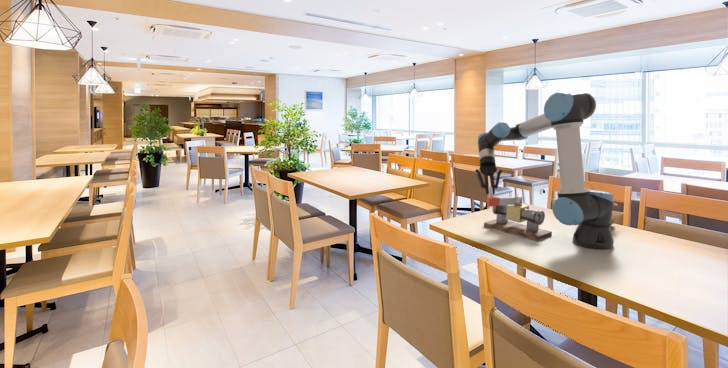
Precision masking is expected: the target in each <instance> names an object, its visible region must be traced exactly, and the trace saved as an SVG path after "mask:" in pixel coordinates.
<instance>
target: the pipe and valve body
mask: <svg viewBox="0 0 728 368" xmlns="http://www.w3.org/2000/svg"><path fill="white" fill-rule="evenodd" d="M492 213H493V214H494V215H495V216H496V223H497V224H501V225H502V224H506V223H508V221H511V222H515V223H519V224H521V223H523V222H526V225H527V228H526V231H528V232H531V233H533V232H536V231H538V229H540V228H539V227H540V226H541V225H542V224H543V223H544V221H545V217H546V214H545V212H544V211H543V210H537V211H536V210H531V209H530V205H527V204H523V203H522V206H516V205H499V206H492Z"/></svg>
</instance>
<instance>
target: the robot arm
mask: <svg viewBox="0 0 728 368" xmlns="http://www.w3.org/2000/svg"><path fill="white" fill-rule="evenodd" d="M596 109H597V102H596V99H595V98H594V96H592V95H591V94H590V93H588V92H585V91H568V90H567V91H566V90H565V91H559V92H555V93H552V94H551V95H550V96H548V98H547V99H546V101H545V103H544V105H543V113H542V114H540V115H537V116H535V117H533V118H530V119H528V120H525V121H523V122H520V123H518V124H514V125H509V124H508V123H507V122H504V121H499V122H497V123H496V124H495V125H493V127H492V128H491V129H490V130H489V131H488V132H483V133H480V134H479V135H478V137H477V146H478V147H477V148H478V157H479V168H477V169H475V171H474V174H475V176H477V180H478V182H479V184H480V187H481V189H484V191H485V194H486V195H487V197H494V196H495V194H496V191H495V189H498V188H499V183H500V177H501V175H502V173H503V170H502V169H498V167H497V165H496V158H495V156H496V155H495V146H497V145H498V144H499V143H500V142H504V141H507V142H508V141H524V140H527V139H528V137H530V136H533V135H536V134H539V133H541V132H545V131H546V130H550V129H554V130H555V134H556V135H555V136H556V147H557V157H558V168H559V178H560V179H559V180H560V189H559V190H558V191H557V192H556V193H557V199H556V200H554V202H553V204H552V208H551V209H552V213H553V217H555V219H556V220H557V221H559V223H561V224H562V225H565V226H577V227H576V230H575V232H574V234H573V236H572V242H573V243H574V244H576V245H578V246H582V247H585V248H587V249H588V248H589V249H596V250H608V249H612V248H613V247H614V244H615V243H614V236H613V233H612V230H611V226H612V225H611V218H612V217H613V216H612V215H613V208H614V206H613V203H615V201H614V194H613V193H611V192H607V191H603V190H595V189H594V190H593V189H588V188H587V187H585V186H586V185H585V176H584V175H585V174H584V163H583V153H582V152H583V151H582V150H583V149H582V141H581V140H582V139H581V130H580V128H581V126H582V125H583V124H584V120H586V119H589V118H590V117H592V116H593V114H594V113H595V112H596ZM481 174H482V175H483V176H482V175H481ZM495 174H496V179H494V175H495ZM489 183H490V186H489Z"/></svg>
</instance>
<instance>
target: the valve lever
mask: <svg viewBox="0 0 728 368" xmlns="http://www.w3.org/2000/svg"><path fill="white" fill-rule="evenodd" d="M523 199H524V196H522V195H514V196H511V197H509V196H508V197H505V196H503V197H498V196H493V197H488V196H487V197H486V206H487V207H490V208H491V207H493V206H499V205H516V206H522V204H523Z"/></svg>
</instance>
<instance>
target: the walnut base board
mask: <svg viewBox="0 0 728 368" xmlns="http://www.w3.org/2000/svg"><path fill="white" fill-rule="evenodd" d="M496 219H497V218H496ZM496 219H492V220H489V221H484V222H483V227H484V228H488V229H491V230H495V231H500V232H503V233H506V234H511V235H514V236H517V237H521V238H525V239H528V240H531V241H535V242H539V241H541V240H544V239H547V238H549V237H551V236H552V234H553V232H552V231H550V230H546V229H543V228H539V229H538V231H536V232H533V233H531V232H528V231H526V228H527V224H526V225H525V224H523V223H519V222H515V221H510V220H508V223H506V224H502V225H501V224H497V223H496Z"/></svg>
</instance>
